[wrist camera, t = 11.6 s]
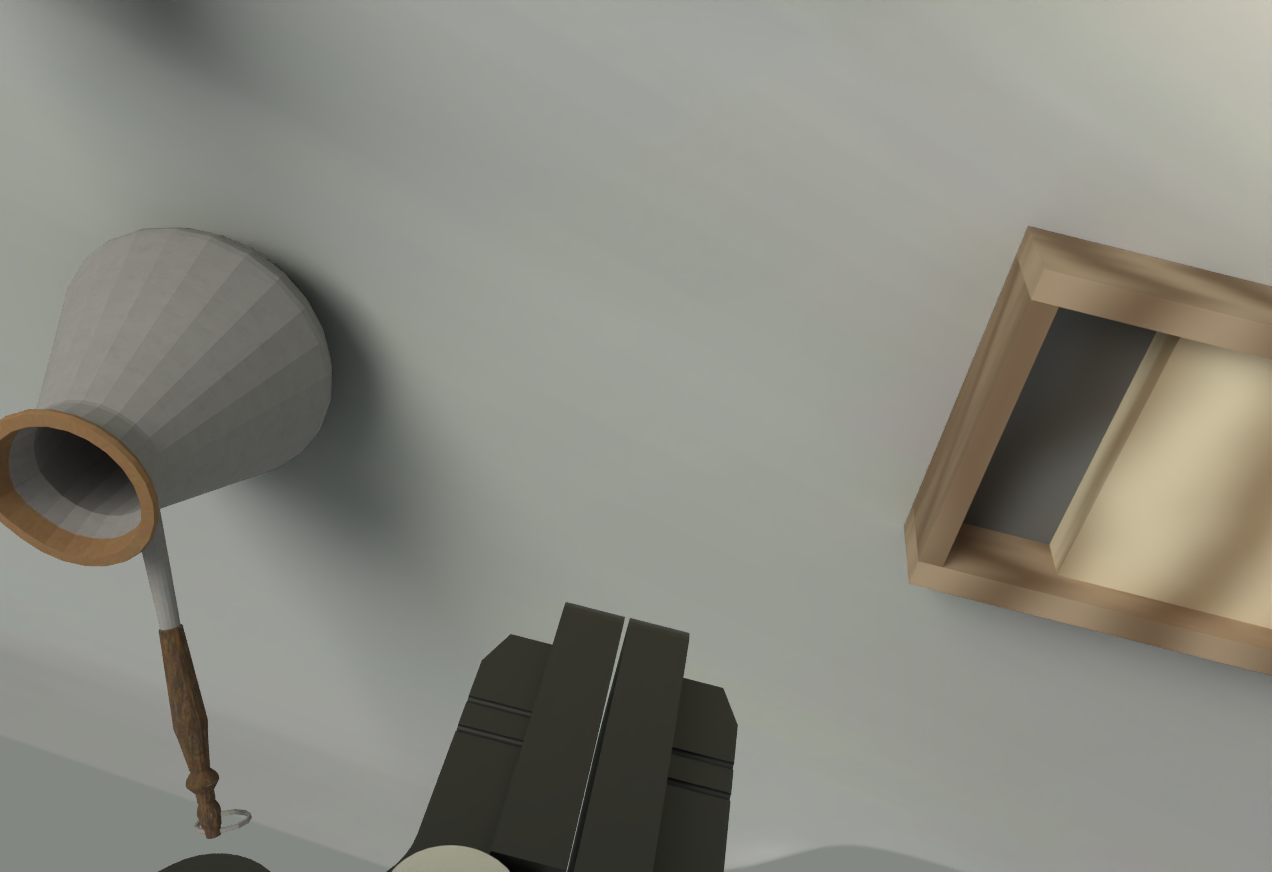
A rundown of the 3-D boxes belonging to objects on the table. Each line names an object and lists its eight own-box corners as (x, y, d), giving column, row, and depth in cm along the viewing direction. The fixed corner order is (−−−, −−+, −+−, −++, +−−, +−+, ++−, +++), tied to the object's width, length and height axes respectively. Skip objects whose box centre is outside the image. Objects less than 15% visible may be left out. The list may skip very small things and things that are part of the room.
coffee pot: (54, 226, 50) (-209, 401, 37) (298, 181, 47) (103, 353, 35) (246, 615, 60) (89, 856, 48) (454, 596, 58) (348, 846, 45)
